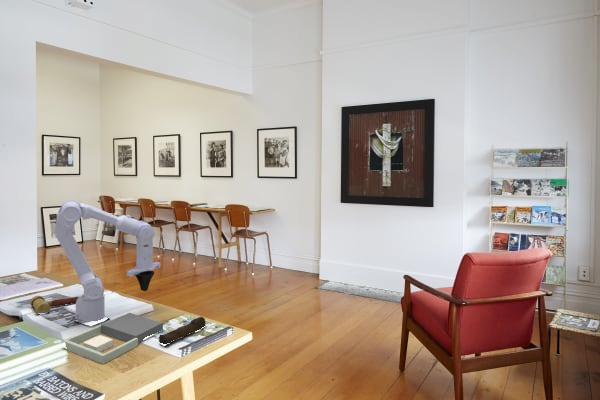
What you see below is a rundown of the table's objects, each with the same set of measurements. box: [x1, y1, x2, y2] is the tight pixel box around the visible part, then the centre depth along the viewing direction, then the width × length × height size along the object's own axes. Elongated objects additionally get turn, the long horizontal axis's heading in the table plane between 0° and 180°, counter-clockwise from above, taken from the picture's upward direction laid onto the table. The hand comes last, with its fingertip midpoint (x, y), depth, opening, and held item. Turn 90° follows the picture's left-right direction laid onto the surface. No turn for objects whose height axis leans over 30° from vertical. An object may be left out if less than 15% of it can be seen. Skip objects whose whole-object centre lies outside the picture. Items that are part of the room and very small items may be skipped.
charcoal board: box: [100, 312, 164, 345], centre depth 140 cm, size 16×12×3 cm
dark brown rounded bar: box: [158, 316, 207, 344], centre depth 139 cm, size 19×4×5 cm, turn 145°
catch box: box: [63, 325, 139, 365], centre depth 129 cm, size 18×13×2 cm
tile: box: [82, 334, 114, 353], centre depth 128 cm, size 6×6×2 cm
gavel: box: [29, 295, 80, 314], centre depth 159 cm, size 21×5×10 cm
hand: (144, 290), depth 154 cm, fingers closed
